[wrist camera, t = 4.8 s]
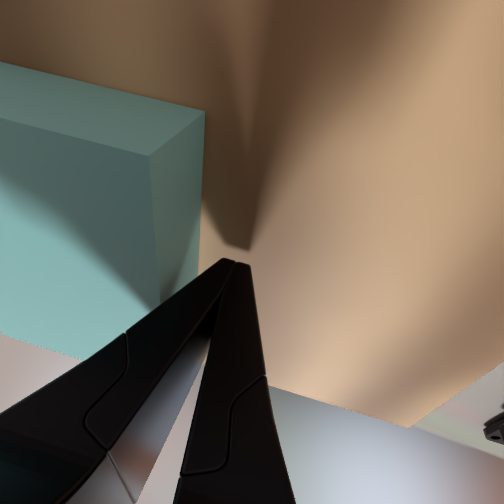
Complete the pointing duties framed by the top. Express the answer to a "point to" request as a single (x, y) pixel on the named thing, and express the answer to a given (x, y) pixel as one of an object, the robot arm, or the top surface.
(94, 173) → the teal tile
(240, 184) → the oak deck
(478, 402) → the top surface
